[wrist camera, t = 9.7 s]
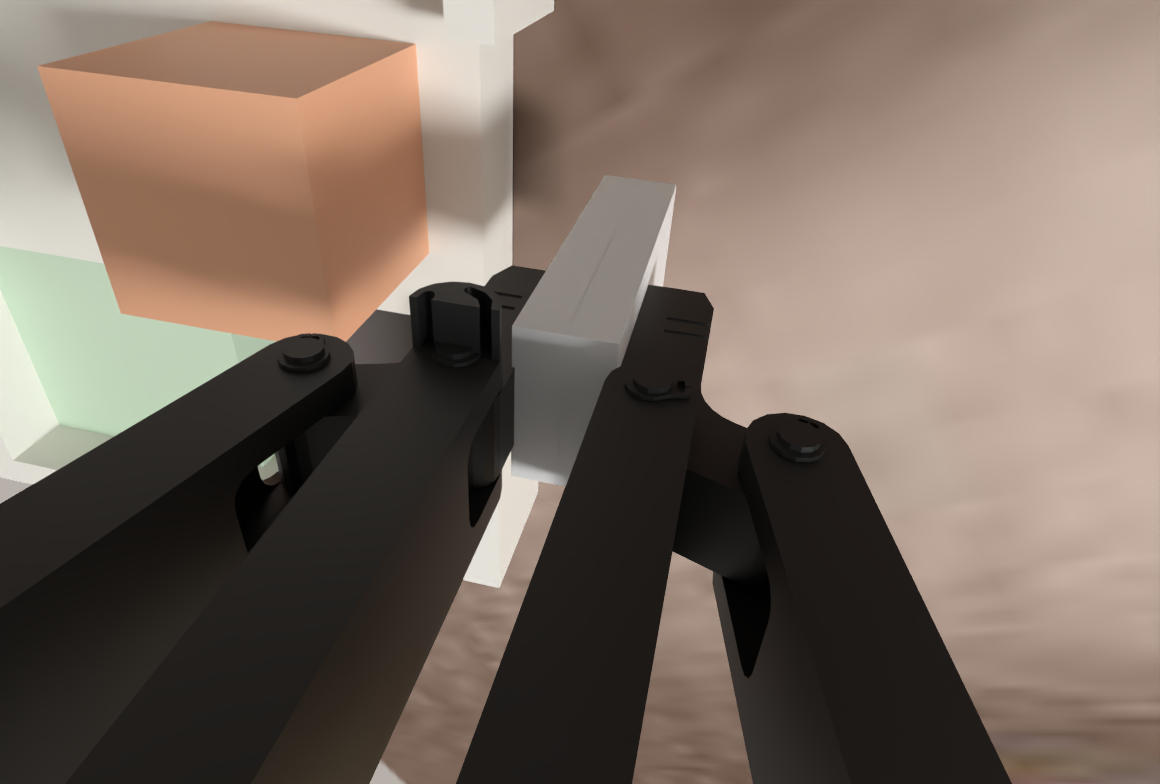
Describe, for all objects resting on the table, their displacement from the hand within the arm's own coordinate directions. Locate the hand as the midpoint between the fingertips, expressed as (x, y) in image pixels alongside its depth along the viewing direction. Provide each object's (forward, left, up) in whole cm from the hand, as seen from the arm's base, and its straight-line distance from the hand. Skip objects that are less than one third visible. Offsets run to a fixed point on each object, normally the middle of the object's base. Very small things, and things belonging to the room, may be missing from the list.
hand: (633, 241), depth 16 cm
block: (-1, -8, -2) cm, 8 cm away
